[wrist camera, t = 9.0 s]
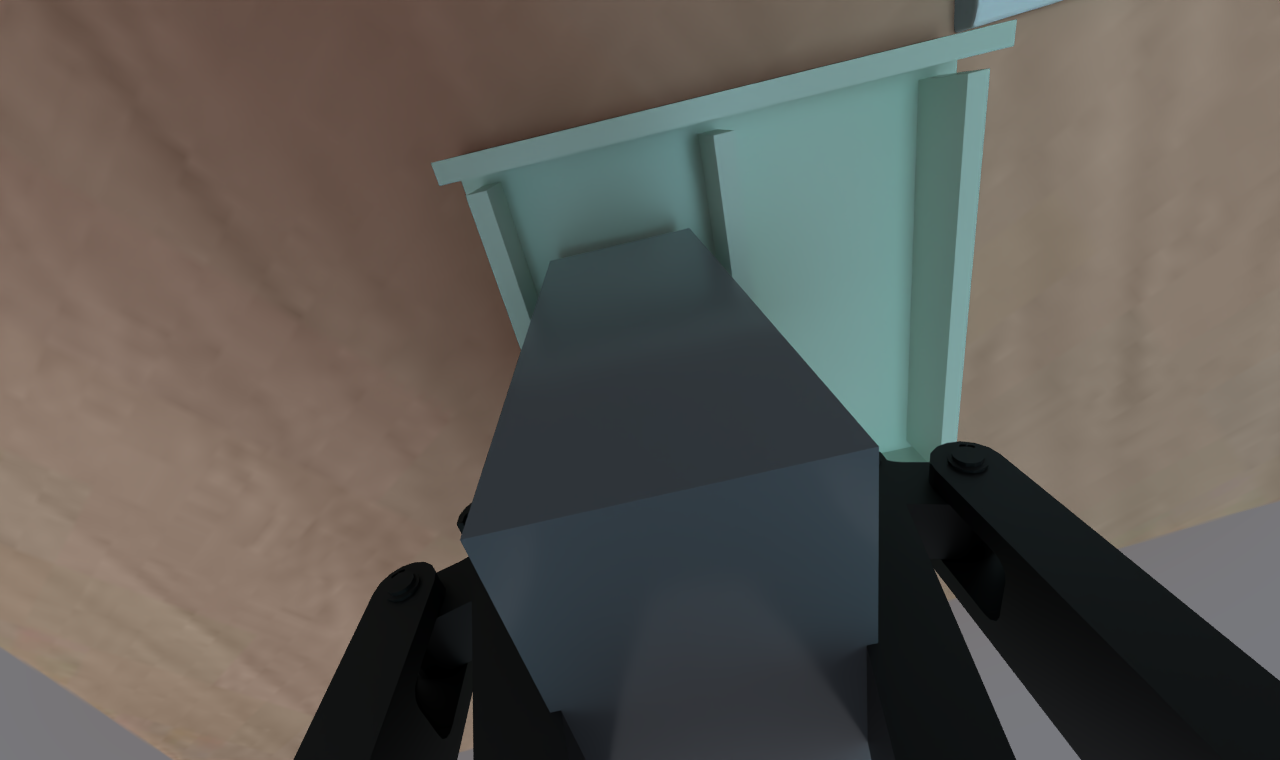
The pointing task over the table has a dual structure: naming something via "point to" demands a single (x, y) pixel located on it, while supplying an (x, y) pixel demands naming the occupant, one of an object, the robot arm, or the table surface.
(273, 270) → the table surface
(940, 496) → the robot arm
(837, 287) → the green divided tray
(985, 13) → the external hard drive
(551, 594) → the blue-grey rectangular block
